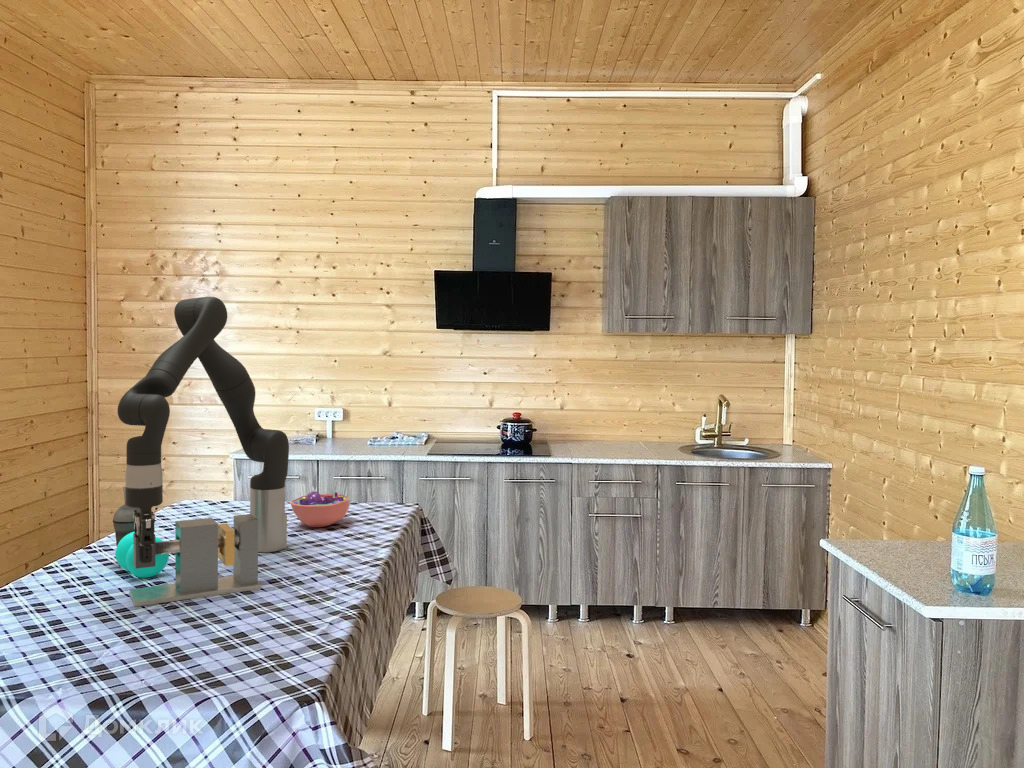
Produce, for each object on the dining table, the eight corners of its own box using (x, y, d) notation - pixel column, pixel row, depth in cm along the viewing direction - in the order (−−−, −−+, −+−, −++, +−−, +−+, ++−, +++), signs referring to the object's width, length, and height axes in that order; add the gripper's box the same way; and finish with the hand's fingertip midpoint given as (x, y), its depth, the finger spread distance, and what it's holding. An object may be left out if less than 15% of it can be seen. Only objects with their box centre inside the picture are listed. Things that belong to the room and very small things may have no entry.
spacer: (226, 556, 191) (226, 523, 191) (234, 564, 184) (234, 530, 184) (217, 557, 190) (217, 524, 190) (225, 565, 183) (225, 531, 183)
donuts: (155, 565, 203) (155, 527, 203) (171, 574, 196) (170, 534, 196) (113, 573, 196) (113, 533, 196) (128, 582, 189) (128, 541, 189)
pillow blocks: (251, 577, 196) (251, 512, 195) (261, 588, 187) (261, 521, 186) (129, 593, 181) (129, 524, 180) (134, 606, 173) (134, 533, 172)
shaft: (250, 550, 192) (250, 521, 192) (254, 554, 189) (254, 525, 188) (133, 564, 179) (133, 533, 178) (135, 568, 175) (135, 537, 175)
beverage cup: (131, 569, 200) (131, 490, 198) (106, 567, 201) (105, 488, 200) (150, 561, 207) (150, 485, 206) (125, 559, 208) (125, 483, 207)
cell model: (363, 523, 255) (363, 488, 254) (316, 535, 238) (317, 498, 237) (325, 516, 264) (325, 482, 263) (277, 527, 247) (278, 491, 246)
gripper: (167, 487, 173) (167, 565, 174) (157, 477, 185) (157, 549, 186) (129, 490, 169) (129, 569, 170) (121, 479, 181) (122, 553, 182)
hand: (144, 558), depth 178 cm, fingers open, 5 cm apart
